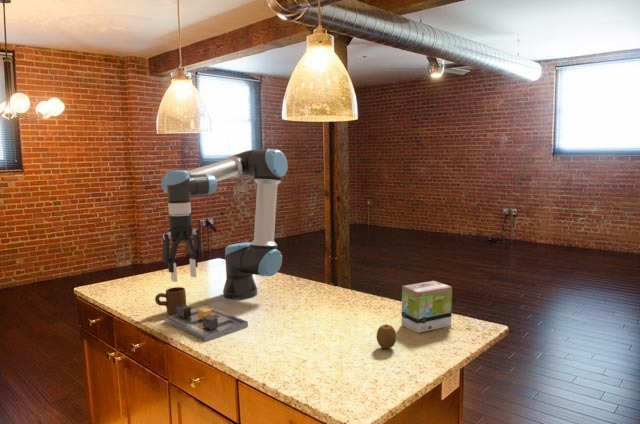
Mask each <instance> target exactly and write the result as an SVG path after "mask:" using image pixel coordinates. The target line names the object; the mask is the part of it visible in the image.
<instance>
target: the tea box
mask: <svg viewBox="0 0 640 424" xmlns="http://www.w3.org/2000/svg"><path fill="white" fill-rule="evenodd" d="M401 287H402V288H401V289H402V290H401V320H400V321H401V325H402V326H403V327H405V328H407V329H409V330H411V331H413V332H414V333H417V334H421V333H423V332H427V331H428V332H429V331H431V330H437V329H442V328H447V327H448V328H449V327H451V326H452V314H453V313H452V308H453V307H452V304H453V303H452V302H453V301H452V300H453V287H452V286H451V285H448V284H445V283H442V282H439V281H436V280H430V281H424V282H419V283H413V284H407V285H402V286H401Z"/></svg>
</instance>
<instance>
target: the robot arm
mask: <svg viewBox="0 0 640 424" xmlns="http://www.w3.org/2000/svg"><path fill="white" fill-rule="evenodd" d="M288 165H289V164H288V160H287V158H286V155H285V154H284V153H283V152H282V151H281V150H279V149H275V148H274V149H272V148H268V149H267V148H266V149H265V148H264V149H263V148H262V149H249V150H246V151H243V152H239V153H236V154H234V155H230V156H227V158H225V160H221V161H218V162H215V163H210V164H207V165H203V166H200V167H196V168H193V169H190V170H187V169H180V170H179V169H177V170H176V169H175V170H168V171H167V172H166V175H164V176H163V177H162V179H161V182H160V183H161V184H160V185H161V189H162V190H163V192H164V193H166V194H167V206H168V207H167V208H168V215H169V216H168V221H169V224H168V225H169V231H168V232H166V233H162V234H161V239H162V254H161V255H162V257H161V260H162V262H163V263H166V264H167V267H168V272H169V273H170V279H171V282H173V283H177V282H178V277H177V276H178V274H177V273H178V271H177V263H176V262H175V259H176V255H177V251H178V247H179V245H180V243H181V242H182V241H183V242H184V243H185V245H186V248H187V249H188V252H189V254H190V258H189V273H190V277H191V278H193V279H194V278H197V268H198V260H199V259H200V257H202V256H203V251H202V246H201V244H202V243H201V238H200V233H201V230H200V229H199V228H198V229H197V228H193V227H192V224H193V222H192V215H191V213H192V208H191V207H192V206H191V205H192V204H191V202H192V201H191V197H195V196H196V197H197V196H208V195H212V194H214V193H215V192H216V191H217V188H218V182H220V181H223V180H226V179H229V178H234V179H238V178H241V177H253V180H254V182H255V183H256V200H255V201H256V202H255V214H254V231H253V232H254V233H253V240H252V241H251V242H238V243H233V244H228V245H227V246H226V247H225V250H224V251H225V252H224V257H225V258H224V261H225V273H226V274H225V275H226V279H225V284H224V285H223V291H222V295H223V297H224V298H226V299H228V300H229V299H231V300H244V299H250V298H252V297H255V296H257V294H258V287H257V284H256V282H255V279H254V275H256V276H261V277H272V276H274V275H276V274H277V273H278V271H280V270H281V269H280V268H281V266H282V263H283V255H282V252H281V251H280V250H278V244H277V242H275V231H276V230H275V229H276V228H275V227H276V226H275V225H276V215H277V214H276V212H277V211H276V210H277V195H278V186H279V184H281V182H282V178H283V177H284V176H286V174H287V172H288ZM191 235H192V237H191ZM192 238H193V239H192ZM170 239H171V241H170ZM170 244H171V245H170Z"/></svg>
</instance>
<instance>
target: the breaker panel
mask: <svg viewBox="0 0 640 424" xmlns="http://www.w3.org/2000/svg"><path fill="white" fill-rule="evenodd" d="M203 307H206V308H208V309H211V310H212V316H211V315H207V316H204V317H202V320H201V319H199V318H198V310H197V309H199V308H203ZM191 308H192V307H191V306H189V305H187V304H186V305H184V304H183V305H180V306H177V314H174V315H167V316H164V317H163V320H164V323H165V324H167V325H169V326H171V327H173V328H175V329H178V330H180V331H182V332H184V333H186V334H188V335H190V336H192V337H194V338H196V339H199V340H200V341H202V342H204V343H205V342H208V341H211V340H215V339H216V338H219V337H222V336H225V335H228V334H231V333H234V332H237V331H240V330H243V329H246V328H248V327H249V321H247V320H245V319H242V318H240V317H237V316H234V315H231V314H228V313H226V312H224V311H221V310H218V309H215V308H213V307H211V306H208V305H202V306H199V307H197V308H193V309H191Z"/></svg>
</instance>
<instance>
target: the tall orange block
mask: <svg viewBox="0 0 640 424" xmlns="http://www.w3.org/2000/svg"><path fill="white" fill-rule="evenodd" d="M198 308H199V307H198ZM197 310H198V318H199V319H201V320H202V317H204V316H207V315H211V316H212V310H211V309H208V308H206V307H203V308H199V309H197Z"/></svg>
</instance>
